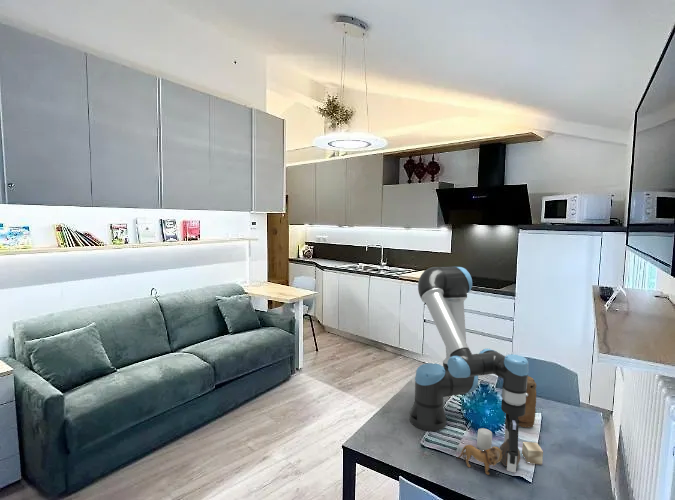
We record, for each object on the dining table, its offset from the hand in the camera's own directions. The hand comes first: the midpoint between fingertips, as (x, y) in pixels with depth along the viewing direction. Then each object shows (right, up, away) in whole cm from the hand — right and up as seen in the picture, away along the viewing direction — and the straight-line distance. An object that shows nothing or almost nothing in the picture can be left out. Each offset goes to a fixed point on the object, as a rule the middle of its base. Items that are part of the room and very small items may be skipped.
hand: (509, 458), depth 132 cm
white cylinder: (-5, -1, +10) cm, 11 cm away
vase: (0, -2, 0) cm, 2 cm away
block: (+16, 0, +26) cm, 31 cm away
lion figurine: (-11, -2, -2) cm, 11 cm away
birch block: (+9, -2, +3) cm, 10 cm away
